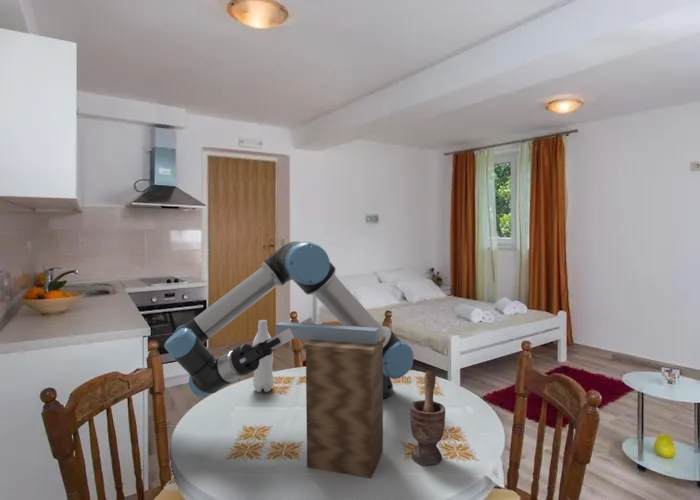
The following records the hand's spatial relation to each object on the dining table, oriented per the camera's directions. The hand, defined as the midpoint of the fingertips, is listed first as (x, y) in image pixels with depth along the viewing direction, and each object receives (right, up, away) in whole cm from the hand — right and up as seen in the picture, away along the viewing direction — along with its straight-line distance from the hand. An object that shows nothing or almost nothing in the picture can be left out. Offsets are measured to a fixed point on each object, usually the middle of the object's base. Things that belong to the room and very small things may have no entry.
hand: (302, 327), depth 108 cm
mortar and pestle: (+31, -33, +1) cm, 45 cm away
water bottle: (-19, -31, +45) cm, 58 cm away
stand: (+11, -33, -2) cm, 35 cm away
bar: (+6, -3, -2) cm, 7 cm away
